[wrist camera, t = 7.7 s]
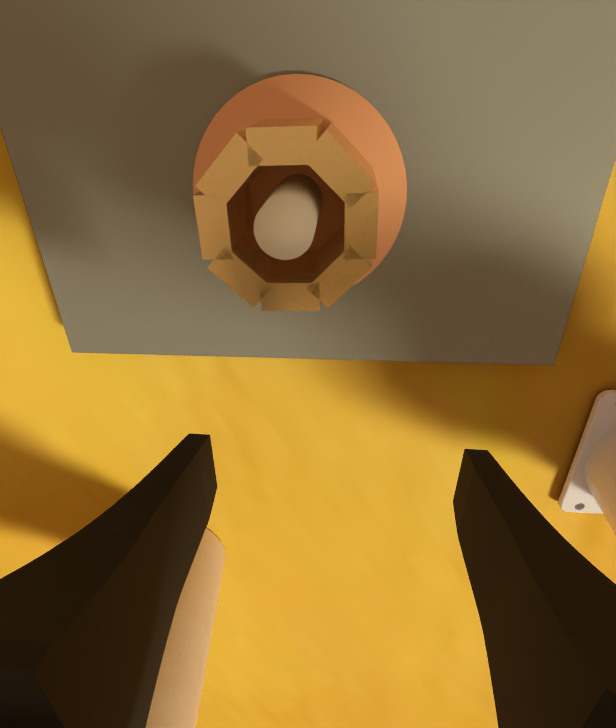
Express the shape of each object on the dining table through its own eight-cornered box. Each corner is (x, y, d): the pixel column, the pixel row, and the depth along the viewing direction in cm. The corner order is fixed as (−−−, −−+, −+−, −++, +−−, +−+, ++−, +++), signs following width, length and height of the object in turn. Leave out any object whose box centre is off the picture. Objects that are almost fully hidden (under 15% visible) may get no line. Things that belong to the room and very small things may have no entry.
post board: (651, -48, 14) (816, -121, 9) (542, 348, 22) (600, 430, 16) (-18, -20, 16) (-191, -69, 11) (87, 337, 23) (12, 408, 18)
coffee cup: (180, 606, 35) (79, 908, 22) (79, 533, 31) (-109, 842, 19) (276, 563, 31) (224, 894, 18) (174, 476, 28) (23, 809, 15)
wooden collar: (376, 116, 16) (382, 124, 13) (370, 274, 19) (373, 311, 16) (215, 121, 16) (182, 129, 13) (232, 274, 19) (210, 310, 16)
